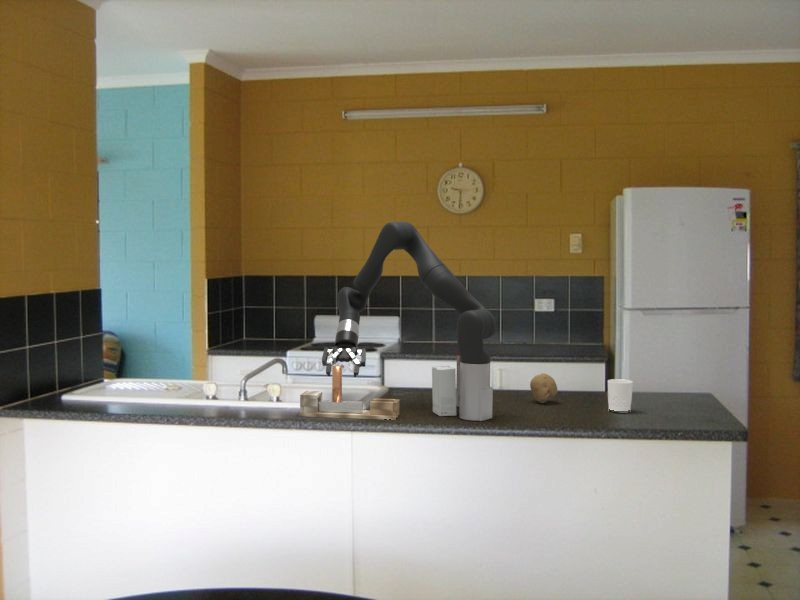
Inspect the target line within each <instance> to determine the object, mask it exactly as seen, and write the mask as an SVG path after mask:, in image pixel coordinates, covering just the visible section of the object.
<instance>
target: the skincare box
mask: <svg viewBox="0 0 800 600" xmlns="http://www.w3.org/2000/svg"><path fill="white" fill-rule="evenodd" d="M456 374H457V372H456V368H455V367H452V366H449V365H438V366H431V388H432V389H431V391H432V397H431V398H432V413H434V414H435V415H438V416H439V417H445V416H446V417H448V416H449V417H456V416H457V406H456Z"/></svg>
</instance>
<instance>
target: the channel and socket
mask: <svg viewBox="0 0 800 600" xmlns="http://www.w3.org/2000/svg"><path fill="white" fill-rule="evenodd" d="M299 398H300V399H299V402H300V403H299V413H298V416H299V417H306V418H309V417H312V418H333V419H334V418H337V419H359V420H360V419H361V420H362V419H364V420H384V419H387V420H388V421H389V419H391V420H392V421H396V420H397V419H398V417H399V416H400V399H399V398H398V399H396V398H372V400H371V401H370V402H369V404H370V405H369V410H366V409H363V412H362V413H346V412H320V411H318V400H323V390H305V391H303V392H302V393H301V394H299ZM398 415H399V416H398ZM396 418H397V419H396ZM391 420H390V421H391Z"/></svg>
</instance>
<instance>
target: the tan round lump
mask: <svg viewBox="0 0 800 600" xmlns="http://www.w3.org/2000/svg"><path fill="white" fill-rule="evenodd" d="M529 383H530V384H529V386H530V391H531V394H532V396H533V397H534V399H535V400H536V401H537V402H538V401H539V403H540V402H545V403H546V402H547V401H549V400H550V399H552V398H554V397H556V395H557V393H558V386H557V385H558V384H557V383H556V381H555V379H554V378H553V377H552V376H551V375H550V374H547V373H540V374H537V375H535V376H534V377H532V379H531V380H530V382H529Z"/></svg>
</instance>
